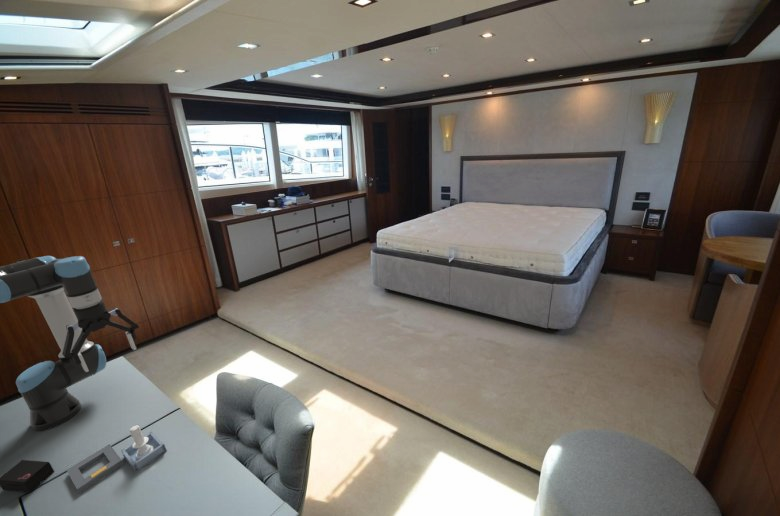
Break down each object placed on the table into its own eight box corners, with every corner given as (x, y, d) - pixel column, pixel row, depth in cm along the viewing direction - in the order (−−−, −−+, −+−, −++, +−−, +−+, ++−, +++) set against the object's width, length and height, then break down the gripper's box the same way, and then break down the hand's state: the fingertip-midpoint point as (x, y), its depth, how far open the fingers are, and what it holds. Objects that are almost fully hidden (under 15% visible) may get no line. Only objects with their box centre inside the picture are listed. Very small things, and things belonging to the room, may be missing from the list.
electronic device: (28, 469, 117) (22, 459, 115) (55, 472, 115) (48, 461, 113) (3, 491, 110) (-4, 480, 108) (30, 493, 108) (23, 482, 107)
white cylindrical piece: (137, 462, 116) (126, 435, 111) (134, 453, 119) (122, 427, 115) (155, 451, 119) (145, 425, 115) (151, 443, 123) (140, 417, 119)
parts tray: (124, 456, 119) (121, 450, 118) (154, 437, 126) (151, 431, 125) (135, 472, 113) (132, 465, 112) (166, 450, 120) (164, 444, 119)
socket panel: (68, 474, 114) (66, 469, 113) (111, 448, 123) (109, 443, 122) (79, 493, 107) (76, 488, 106) (123, 464, 116) (121, 459, 115)
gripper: (37, 325, 96) (67, 384, 104) (136, 291, 115) (155, 343, 122) (31, 318, 101) (60, 376, 108) (128, 286, 119) (147, 337, 127)
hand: (111, 359), depth 115 cm, fingers open, 13 cm apart
